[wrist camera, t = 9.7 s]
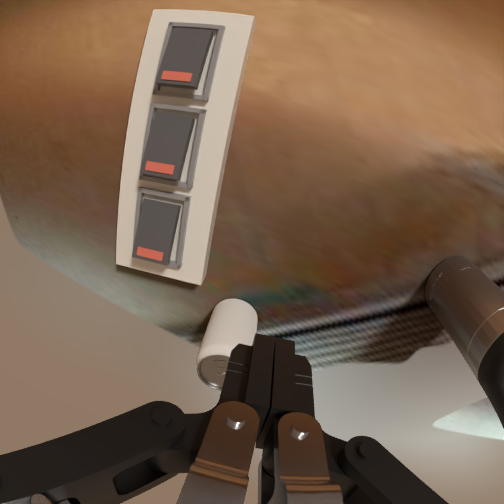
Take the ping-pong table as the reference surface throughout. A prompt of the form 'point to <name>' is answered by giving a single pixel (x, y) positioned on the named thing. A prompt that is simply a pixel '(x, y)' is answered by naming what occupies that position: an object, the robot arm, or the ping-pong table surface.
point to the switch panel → (201, 142)
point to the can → (224, 339)
